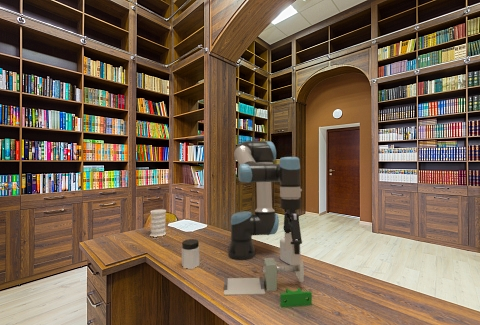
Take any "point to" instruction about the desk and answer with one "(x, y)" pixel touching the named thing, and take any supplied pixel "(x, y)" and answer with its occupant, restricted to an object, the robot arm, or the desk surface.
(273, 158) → the robot arm
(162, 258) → the desk surface
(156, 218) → the decorative container
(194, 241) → the jar
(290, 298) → the pipe clamp
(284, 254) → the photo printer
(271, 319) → the desk surface
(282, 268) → the shaft
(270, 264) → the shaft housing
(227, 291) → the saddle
